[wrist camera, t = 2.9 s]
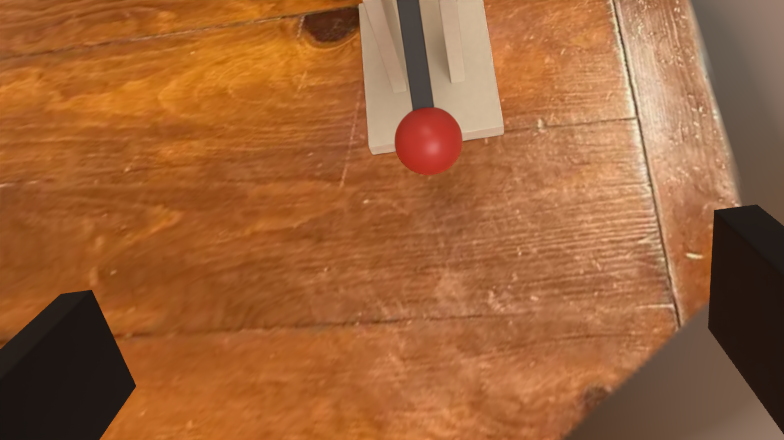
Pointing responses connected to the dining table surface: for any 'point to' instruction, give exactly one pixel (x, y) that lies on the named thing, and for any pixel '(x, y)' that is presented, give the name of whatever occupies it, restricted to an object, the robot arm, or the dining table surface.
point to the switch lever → (423, 106)
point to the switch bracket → (446, 67)
